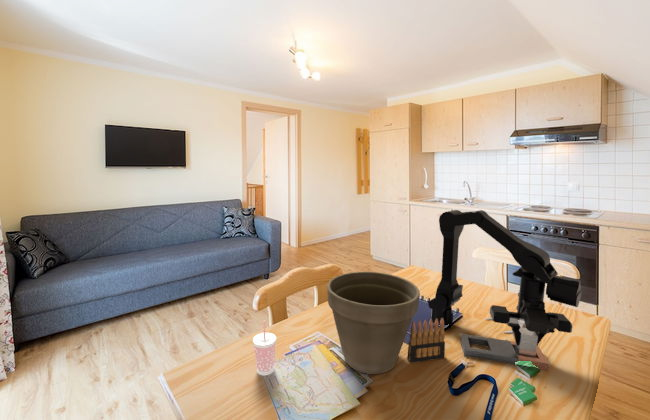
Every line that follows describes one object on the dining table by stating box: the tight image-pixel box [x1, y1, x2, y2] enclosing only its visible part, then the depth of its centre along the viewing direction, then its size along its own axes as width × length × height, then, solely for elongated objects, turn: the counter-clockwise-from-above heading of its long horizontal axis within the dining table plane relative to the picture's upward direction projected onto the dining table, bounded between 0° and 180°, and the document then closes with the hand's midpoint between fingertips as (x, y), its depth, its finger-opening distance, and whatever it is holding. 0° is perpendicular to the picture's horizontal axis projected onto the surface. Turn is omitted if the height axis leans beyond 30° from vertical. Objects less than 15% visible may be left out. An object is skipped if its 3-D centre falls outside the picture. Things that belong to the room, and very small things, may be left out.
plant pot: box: [326, 271, 421, 375], centre depth 87 cm, size 25×25×22 cm
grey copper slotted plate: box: [460, 333, 550, 371], centre depth 91 cm, size 21×9×2 cm, turn 73°
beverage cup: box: [252, 320, 277, 376], centre depth 82 cm, size 6×6×14 cm
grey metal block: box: [515, 327, 538, 358], centre depth 88 cm, size 4×4×7 cm
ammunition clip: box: [406, 318, 446, 364], centre depth 88 cm, size 11×2×12 cm, turn 102°
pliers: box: [485, 317, 526, 334], centre depth 107 cm, size 10×2×15 cm
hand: (525, 346), depth 89 cm, fingers closed on grey metal block, 4 cm apart
